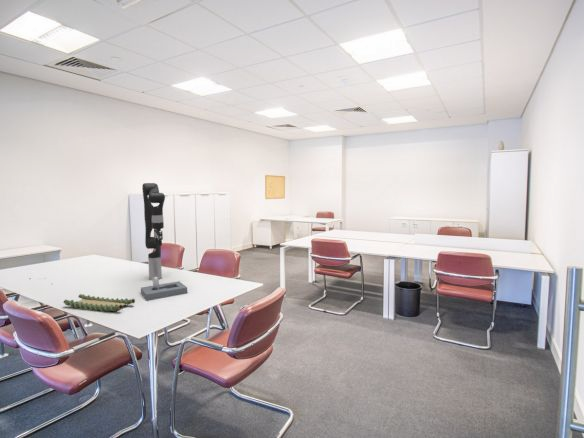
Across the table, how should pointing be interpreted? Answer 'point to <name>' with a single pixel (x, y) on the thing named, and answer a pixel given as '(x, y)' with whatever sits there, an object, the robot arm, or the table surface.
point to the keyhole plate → (163, 290)
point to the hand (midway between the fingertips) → (158, 244)
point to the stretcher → (98, 303)
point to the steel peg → (155, 283)
